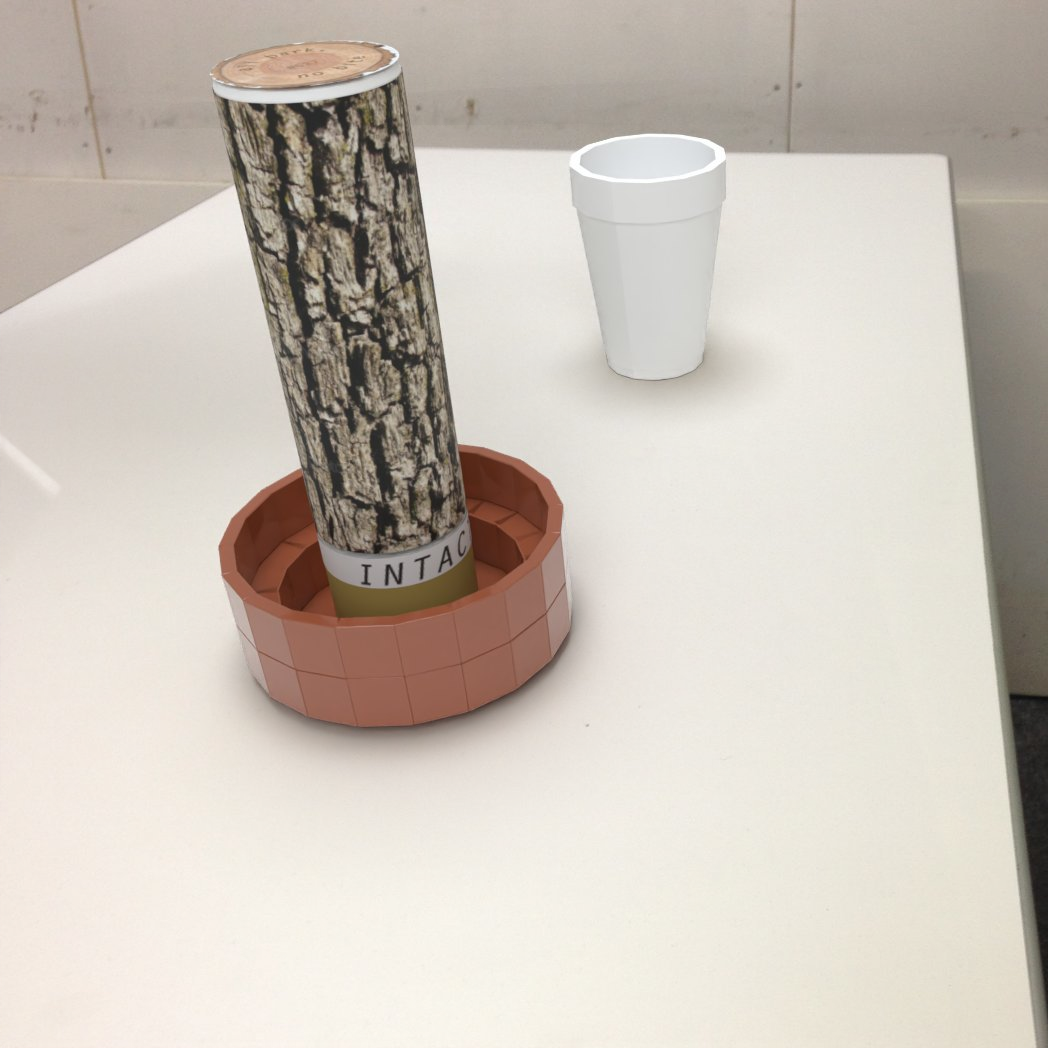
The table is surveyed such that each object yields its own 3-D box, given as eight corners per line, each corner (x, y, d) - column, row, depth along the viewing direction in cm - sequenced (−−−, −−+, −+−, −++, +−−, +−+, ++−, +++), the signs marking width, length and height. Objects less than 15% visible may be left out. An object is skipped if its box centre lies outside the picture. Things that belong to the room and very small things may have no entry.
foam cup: (738, 333, 87) (738, 135, 79) (713, 395, 80) (711, 185, 72) (603, 325, 89) (590, 132, 81) (567, 385, 82) (549, 179, 74)
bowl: (212, 743, 56) (176, 633, 52) (289, 548, 68) (263, 448, 64) (565, 731, 55) (553, 619, 52) (578, 537, 68) (569, 436, 64)
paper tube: (312, 620, 62) (175, 67, 46) (428, 562, 65) (335, 31, 50) (392, 682, 58) (270, 99, 42) (511, 617, 61) (437, 57, 46)
